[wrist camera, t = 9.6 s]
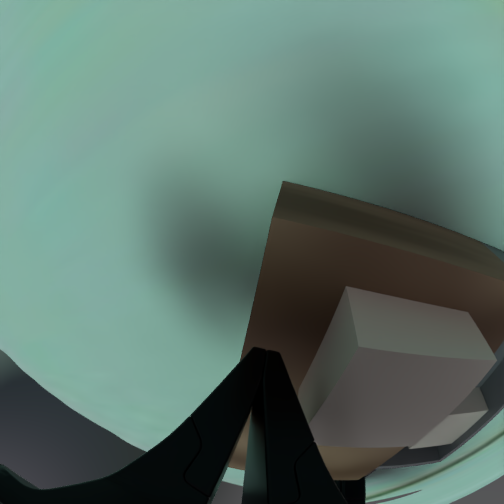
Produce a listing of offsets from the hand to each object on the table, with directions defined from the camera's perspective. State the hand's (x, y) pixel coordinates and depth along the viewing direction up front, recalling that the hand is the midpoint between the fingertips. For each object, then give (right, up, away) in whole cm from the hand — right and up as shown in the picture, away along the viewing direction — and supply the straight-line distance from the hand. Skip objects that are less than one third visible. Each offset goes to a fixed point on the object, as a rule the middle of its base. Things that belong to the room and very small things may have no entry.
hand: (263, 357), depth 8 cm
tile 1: (+4, 0, 0) cm, 4 cm away
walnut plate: (+5, -3, +7) cm, 9 cm away
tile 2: (+15, -10, +5) cm, 19 cm away
